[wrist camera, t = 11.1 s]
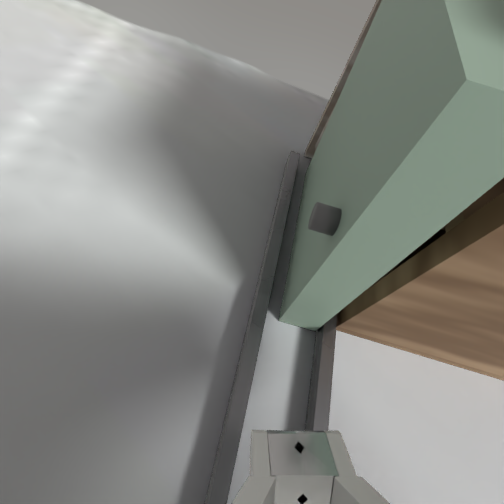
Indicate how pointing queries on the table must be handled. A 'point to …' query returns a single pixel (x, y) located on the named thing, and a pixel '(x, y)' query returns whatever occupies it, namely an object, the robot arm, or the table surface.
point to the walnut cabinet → (437, 281)
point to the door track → (249, 353)
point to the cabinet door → (399, 150)
